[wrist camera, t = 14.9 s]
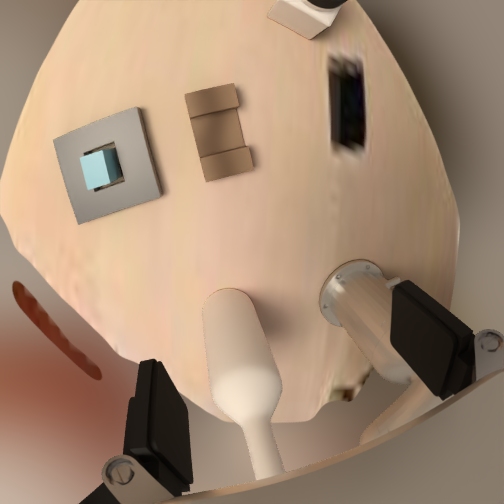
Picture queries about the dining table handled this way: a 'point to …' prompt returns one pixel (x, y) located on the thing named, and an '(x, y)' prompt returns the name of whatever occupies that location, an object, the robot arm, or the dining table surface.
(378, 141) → the dining table surface
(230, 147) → the brown notched block
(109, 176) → the plug
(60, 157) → the port block
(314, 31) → the medicine bottle
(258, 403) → the bottle
